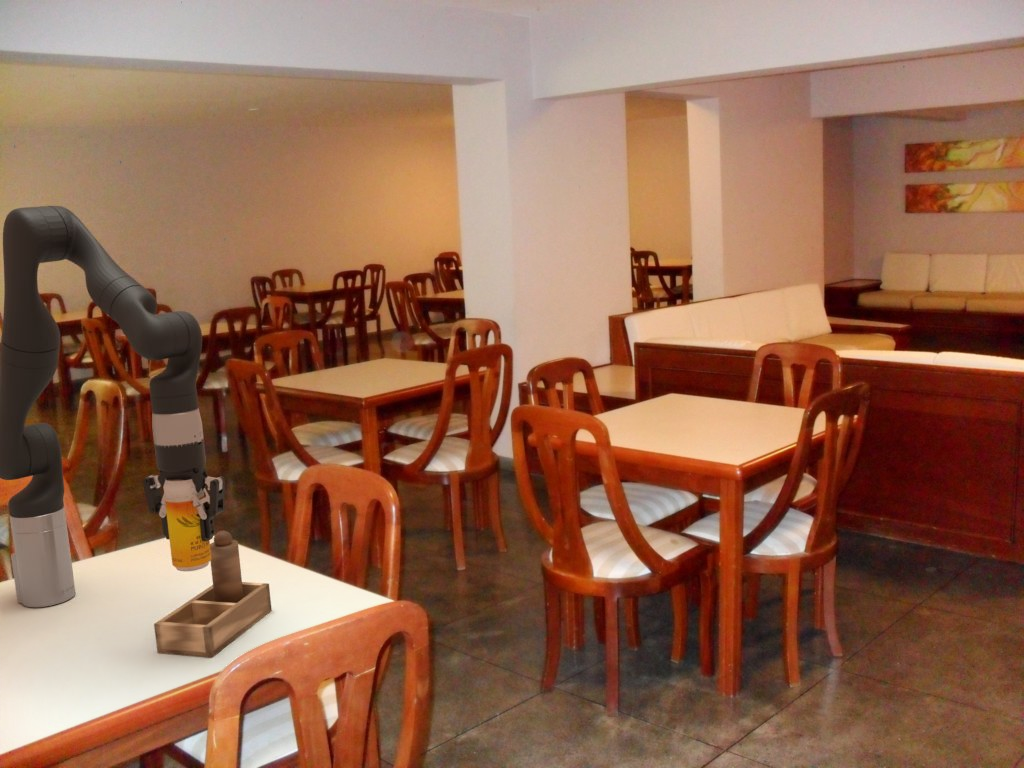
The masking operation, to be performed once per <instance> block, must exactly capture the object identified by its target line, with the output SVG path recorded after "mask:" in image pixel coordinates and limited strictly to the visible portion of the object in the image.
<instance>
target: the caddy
mask: <svg viewBox="0 0 1024 768" xmlns="http://www.w3.org/2000/svg"><path fill="white" fill-rule="evenodd" d="M210 550H211V560H210V568H211V569H210V571H211V577H212V585H211V586H209V587H207V588H205V589H204V590H203V591H202V592H200V593H198V594H196V595H195V596H194V597H192V598H191V599H189V600H188V601H186V602H185V603H183V604H182V605H179V607H176V608H175V609H174V610H173V611H171V612H170V613H168V614H167V615H165V616H164V617H162V618H161V619H159V620H158V621H156V622H155V623H154V625H153V627H154V634H155V645H156V652H157V653H156V654H163V655H175V656H187V657H188V656H189V657H199V658H213V657H215V656H216V655H217V654H218V653H219V652H221V651H222V650H223V649H225V648H227V646H229V644H231V643H232V642H234V641H235V640H236V639H238V637H240V636H241V635H243V634H244V633H245V632H247V630H249V629H250V628H251V627H252V626H254V625H255V624H256V623H258V622H259V621H260V620H262V619H263V618H264V617H265V616H266V615H268V614H269V613H271V612H272V601H271V591H270V590H271V589H270V583H267V582H266V583H265V582H264V583H263V582H248V581H243V580H242V579H243V577H242V569H241V558H240V550H239V541H238V540H236V539H233V536H232V535H231V533H230V532H229V531H227V530H220V531H218V532H217V533H215V535H214V536H213V542H210Z"/></svg>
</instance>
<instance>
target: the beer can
mask: <svg viewBox="0 0 1024 768" xmlns="http://www.w3.org/2000/svg"><path fill="white" fill-rule="evenodd" d="M163 487H164V488H163ZM163 487H162V488H163V495H164V496H165V505H166V513H167V522H168V531H169V539H170V540H169V539H168V540H169V547H170V548H169V549H170V555H171V556H170V557H171V563H172V564H171V565H172V566H173V567H174V568H176V570H177V571H179V572H195V571H198V570H202V569H205V568H206V567H208V566H209V564H210V563H211V561H210V560H211V550H210V544H211V542H210V541H211V540H209V541H202V537H201V528H200V520H201V517H200V515H199V514H198V512H197V508H196V507H194V506H193V497H192V493H193V494H195V495H196V497H197V498H198V499H199V500H201V499H203V498H204V490H203V491H202V488H201V490H200V492H199V493H197V492H196V489H195V485H194V483H193V481H192V479H189V480H167V479H165V483H164V486H163ZM203 506H204V508H205V504H204V503H203Z"/></svg>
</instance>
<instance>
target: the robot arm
mask: <svg viewBox="0 0 1024 768" xmlns="http://www.w3.org/2000/svg"><path fill="white" fill-rule="evenodd" d="M3 222H4V223H3V228H2V229H3V230H2V255H3V256H2V257H3V277H4V278H3V284H4V291H3V293H4V294H3V296H4V297H3V314H2V315H3V319H2V326H1V327H2V328H1V329H2V330H1V338H0V341H1V342H0V479H1V480H4V481H14V480H19V479H24V478H27V477H31V476H32V478H31V480H30V481H29V483H28V484H27V485H25V487H24V488H23V489H21V490H20V491H19V492H17V493H15V494H14V495H13V496H11V498H10V499H9V500H8V502H7V507H8V513H9V514H8V515H9V522H10V527H11V528H10V529H11V535H12V541H13V542H12V543H13V549H14V552H13V553H11V554H10V558H11V566H12V567H11V568H12V573H13V579H14V586H15V594H16V600H17V601H16V602H17V604H18V603H19V604H22V605H23V606H24V607H28V608H44V607H51V606H55V605H58V604H62V603H64V602H67V601H68V600H71V599H72V598H73V597H75V595H76V586H75V585H76V584H75V578H74V569H73V563H72V562H73V561H72V554H71V547H70V540H69V533H68V525H67V518H66V510H65V503H64V497H65V496H64V495H65V484H64V483H65V482H64V471H63V456H62V448H61V443H60V439H59V436H58V433H57V431H56V430H55V428H54V427H53V426H52V425H51V424H49V423H46V422H37V423H36V422H35V423H31V424H27V425H25V424H26V420H27V417H28V416H29V415H28V414H29V412H30V410H31V409H32V408H33V405H34V404H35V402H36V401H37V400H38V398H39V397H40V396H41V394H43V392H44V390H45V389H46V388H47V387H48V385H49V384H50V382H52V380H53V378H54V376H55V374H56V372H57V369H58V366H59V359H60V358H59V357H60V348H61V332H60V328H59V326H58V323H57V322H56V320H55V318H54V316H53V315H52V313H51V311H50V310H49V309H48V306H46V304H45V303H44V301H43V299H42V297H41V294H40V292H39V287H38V286H39V285H38V284H39V283H38V273H39V272H38V270H39V266H40V264H43V263H53V262H59V261H64V260H67V261H69V262H71V263H73V264H75V265H76V266H77V267H79V268H80V269H81V270H83V272H84V276H85V278H84V279H85V285H86V289H87V292H88V295H89V297H90V299H91V300H92V302H93V303H94V304H95V305H96V307H98V308H99V309H100V310H101V311H103V312H104V314H106V315H107V316H108V317H110V318H111V319H112V320H113V321H114V322H115V323H117V324H118V326H119V328H120V329H121V331H122V334H124V335H125V337H126V339H127V341H128V343H129V345H130V346H131V348H132V349H133V351H134V352H135V353H136V354H137V355H139V356H141V357H142V358H144V359H146V360H150V361H161V360H162V361H163V360H167V363H166V367H165V369H164V370H163V371H161V372H160V373H158V374H156V375H154V376H153V377H152V378H151V379H150V381H149V395H150V396H149V397H150V405H151V406H150V407H151V412H152V415H151V416H152V422H151V425H152V426H151V427H152V436H153V446H154V454H155V455H154V456H155V463H156V468H157V470H158V471H159V472H158V474H155V473H153V474H151V475H149V476H146V477H143V479H142V487H143V490H144V494H145V498H146V502H147V503H146V504H147V507H148V511H149V513H151V514H152V515H153V514H156V515H158V516H159V517H160V518H161V525H162V532H163V533H162V534H163V536H165V539H166V540H169V541H170V539H169V531H168V522H167V513H166V505H165V496H164V494H162V489H164V487H163V486H164V483H165V479H167V480H189V479H192V481H193V483H194V485H195V489H196V492H197V493H199V492H200V490H201V488H202V491H203V490H204V498H203V499H201V500H199V499H198V498H197V497H196V495H195V494H193V493H192V497H193V506H194V507H196V508H197V512H198V514H199V515H200V517H201V520H200V528H201V537H202V541H211V540H212V539H214V537H215V535H216V527H215V520H214V519H215V517H216V516H217V515H219V514H221V513H222V512H224V511H225V507H226V506H225V503H226V501H225V499H226V497H225V496H226V495H225V494H226V482H225V481H226V479H225V477H224V476H222V475H220V476H219V477H213V476H209V474H208V472H207V471H206V464H207V457H206V449H205V447H206V446H205V440H204V431H203V422H202V417H201V413H200V409H199V399H198V392H197V390H198V389H197V379H198V375H199V366H200V362H201V361H200V360H201V355H202V349H203V333H202V329H201V326H200V323H199V322H198V319H197V318H195V316H194V315H193V314H191V313H190V312H188V311H185V310H184V311H183V310H178V311H170V312H169V311H168V312H163V313H158V314H157V310H158V303H157V300H156V298H155V295H153V294H152V293H151V292H150V291H149V290H148V289H147V288H146V287H144V286H143V285H142V284H141V282H140V283H139V281H137V280H136V279H135V278H133V277H132V276H131V275H130V274H129V273H127V272H126V271H125V270H124V269H123V268H121V266H119V264H118V263H117V262H116V261H115V260H114V259H113V258H112V257H111V256H110V254H109V253H108V252H107V250H106V249H105V248H104V247H103V246H102V245H101V242H99V241H98V240H97V238H96V237H95V236H94V234H92V232H91V231H90V230H89V229H88V227H86V225H85V224H84V223H83V222H82V220H81V219H80V218H79V217H78V216H77V215H76V214H75V213H74V212H72V211H71V210H70V209H69V208H67V207H64V206H63V205H42V206H29V207H25V206H24V207H18V208H15V209H12V210H11V211H9V212H8V214H6V216H5V220H4V221H3ZM206 486H207V489H206ZM161 487H162V488H161ZM208 491H209V493H208ZM203 503H204V504H205V508H204V506H203Z"/></svg>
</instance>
